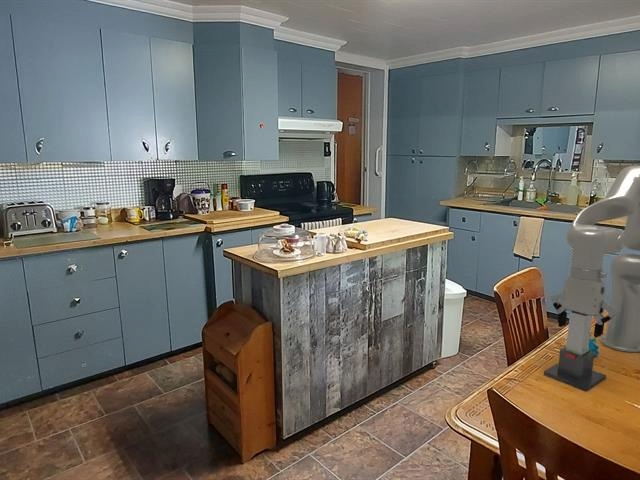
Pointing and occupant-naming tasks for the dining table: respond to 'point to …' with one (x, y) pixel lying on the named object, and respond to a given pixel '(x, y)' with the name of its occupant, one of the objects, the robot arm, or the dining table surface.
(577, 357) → the stand
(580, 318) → the post
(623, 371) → the dining table surface
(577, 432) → the dining table surface
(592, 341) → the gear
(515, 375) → the dining table surface
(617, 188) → the robot arm
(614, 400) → the dining table surface
